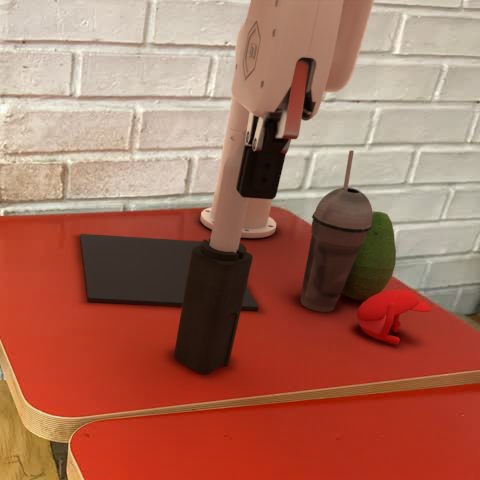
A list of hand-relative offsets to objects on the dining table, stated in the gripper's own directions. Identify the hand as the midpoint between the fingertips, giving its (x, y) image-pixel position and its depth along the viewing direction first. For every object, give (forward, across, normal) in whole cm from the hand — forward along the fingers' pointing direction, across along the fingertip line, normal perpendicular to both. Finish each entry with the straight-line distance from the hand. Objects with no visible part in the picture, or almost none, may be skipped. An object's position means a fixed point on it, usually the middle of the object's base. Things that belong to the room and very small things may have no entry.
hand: (255, 195), depth 61 cm
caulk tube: (+21, -6, 0) cm, 22 cm away
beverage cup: (+21, -22, +19) cm, 36 cm away
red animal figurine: (+21, -14, +25) cm, 36 cm away
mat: (+21, -30, -1) cm, 37 cm away
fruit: (+21, -25, +25) cm, 41 cm away
